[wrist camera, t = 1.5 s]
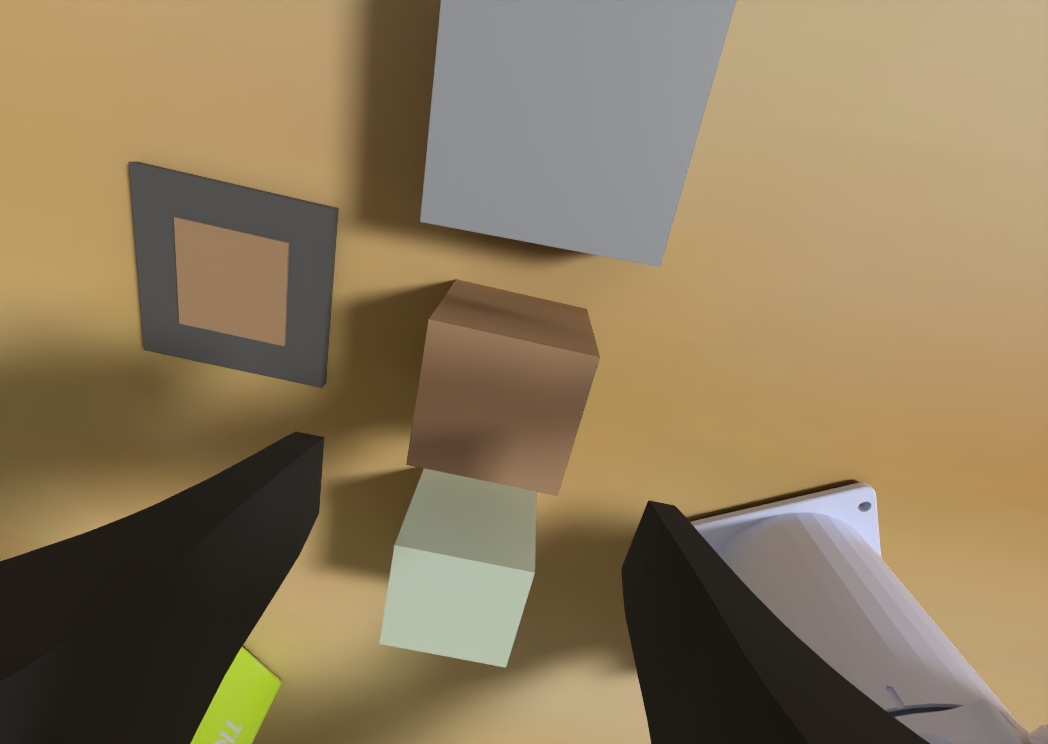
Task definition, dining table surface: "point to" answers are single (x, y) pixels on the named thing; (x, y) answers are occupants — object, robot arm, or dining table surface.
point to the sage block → (461, 569)
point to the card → (233, 274)
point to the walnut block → (502, 387)
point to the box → (239, 703)
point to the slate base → (569, 119)
